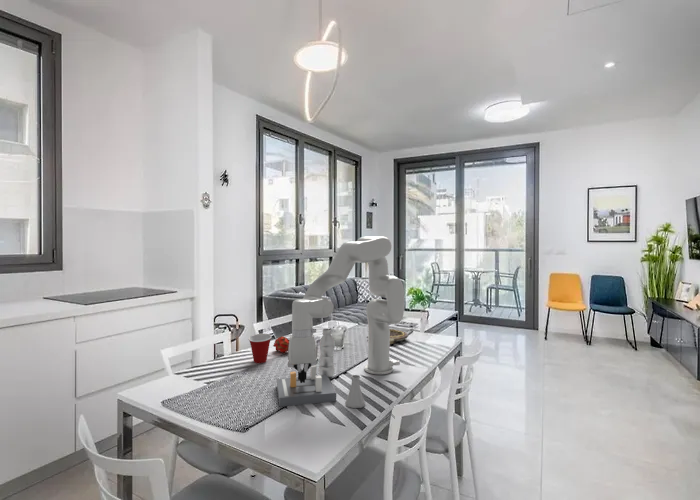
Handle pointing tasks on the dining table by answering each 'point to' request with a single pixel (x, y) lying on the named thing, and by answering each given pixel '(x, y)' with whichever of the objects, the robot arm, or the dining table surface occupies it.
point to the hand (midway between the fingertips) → (302, 381)
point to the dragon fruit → (281, 344)
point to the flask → (355, 394)
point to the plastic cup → (260, 347)
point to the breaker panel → (306, 390)
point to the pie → (397, 336)
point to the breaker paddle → (293, 379)
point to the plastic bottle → (326, 353)
